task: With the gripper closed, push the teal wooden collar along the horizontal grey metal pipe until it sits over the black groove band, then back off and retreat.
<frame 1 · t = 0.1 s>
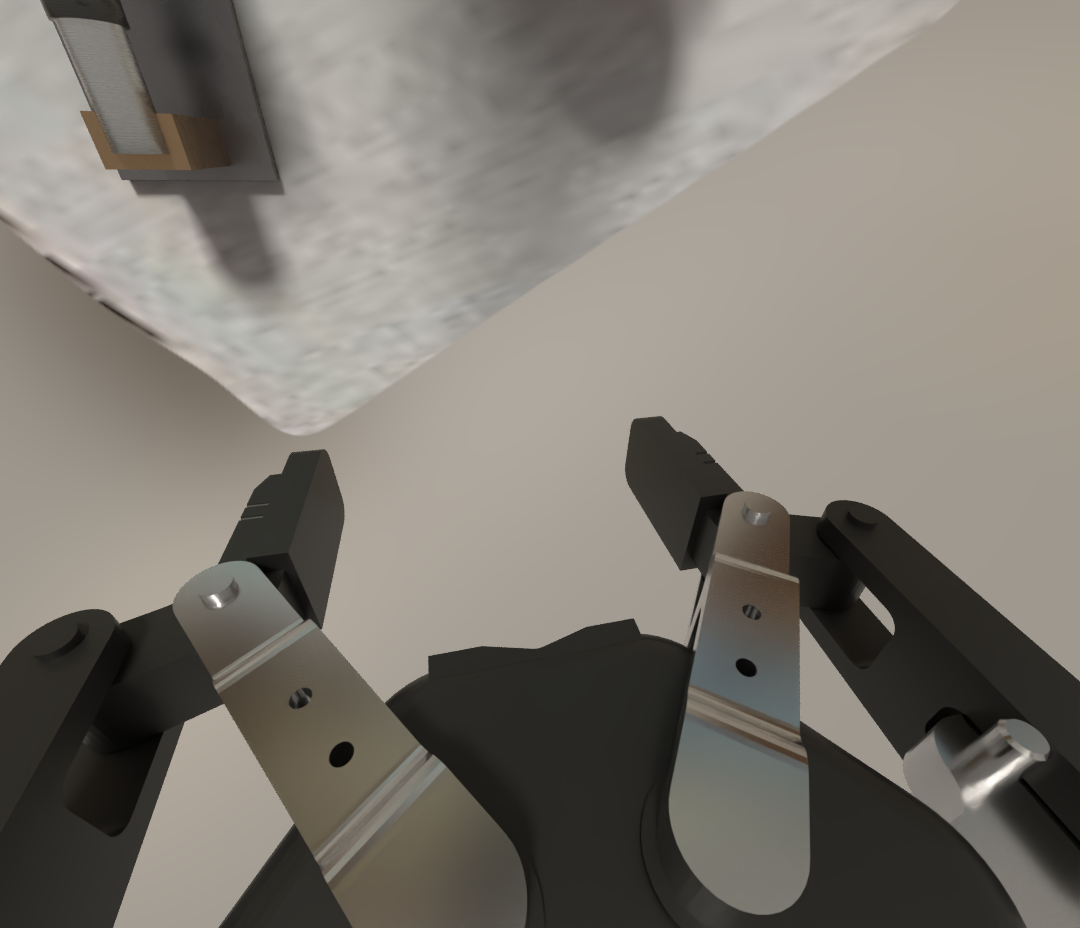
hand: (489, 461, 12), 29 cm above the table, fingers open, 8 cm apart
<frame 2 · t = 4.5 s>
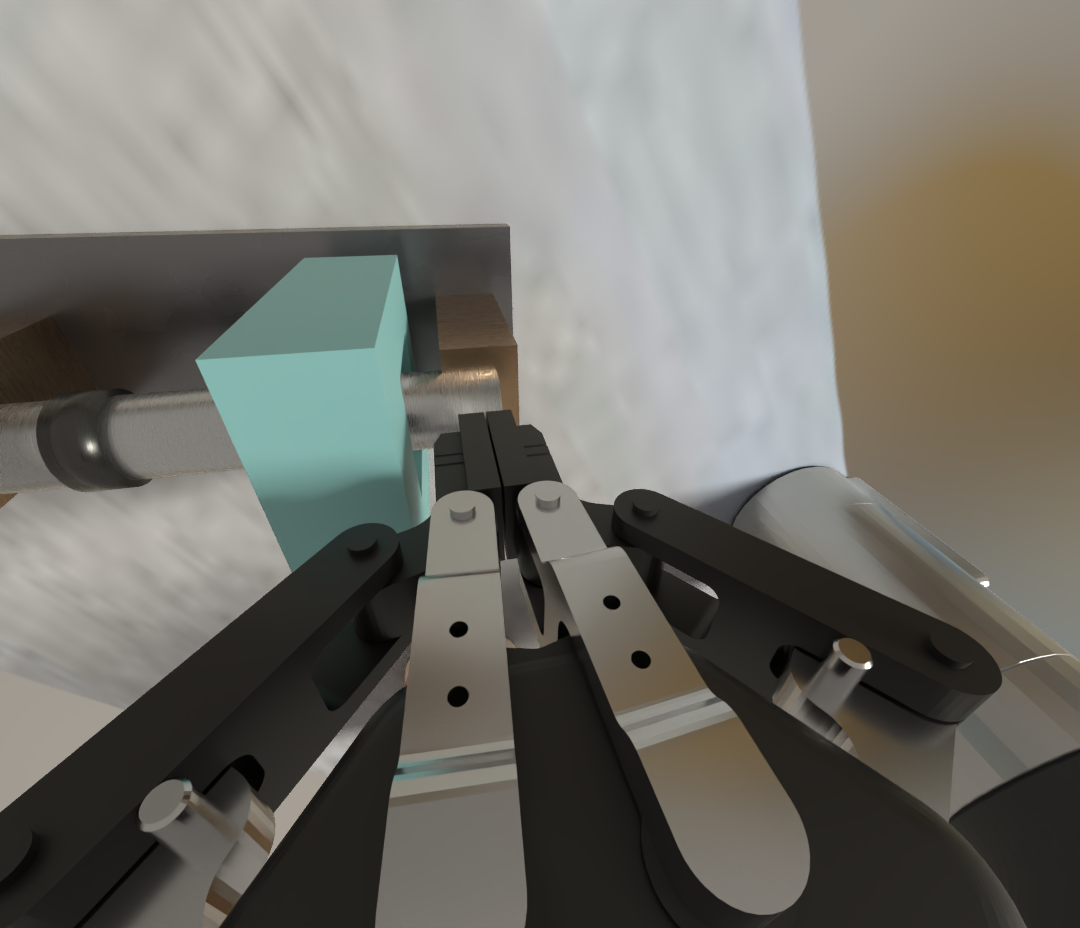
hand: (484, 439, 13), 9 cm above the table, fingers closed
collar: (363, 424, 14), point 8 cm above the table, slide at 0.3 cm, touching gripper
pipe rig: (278, 347, 19), on the table
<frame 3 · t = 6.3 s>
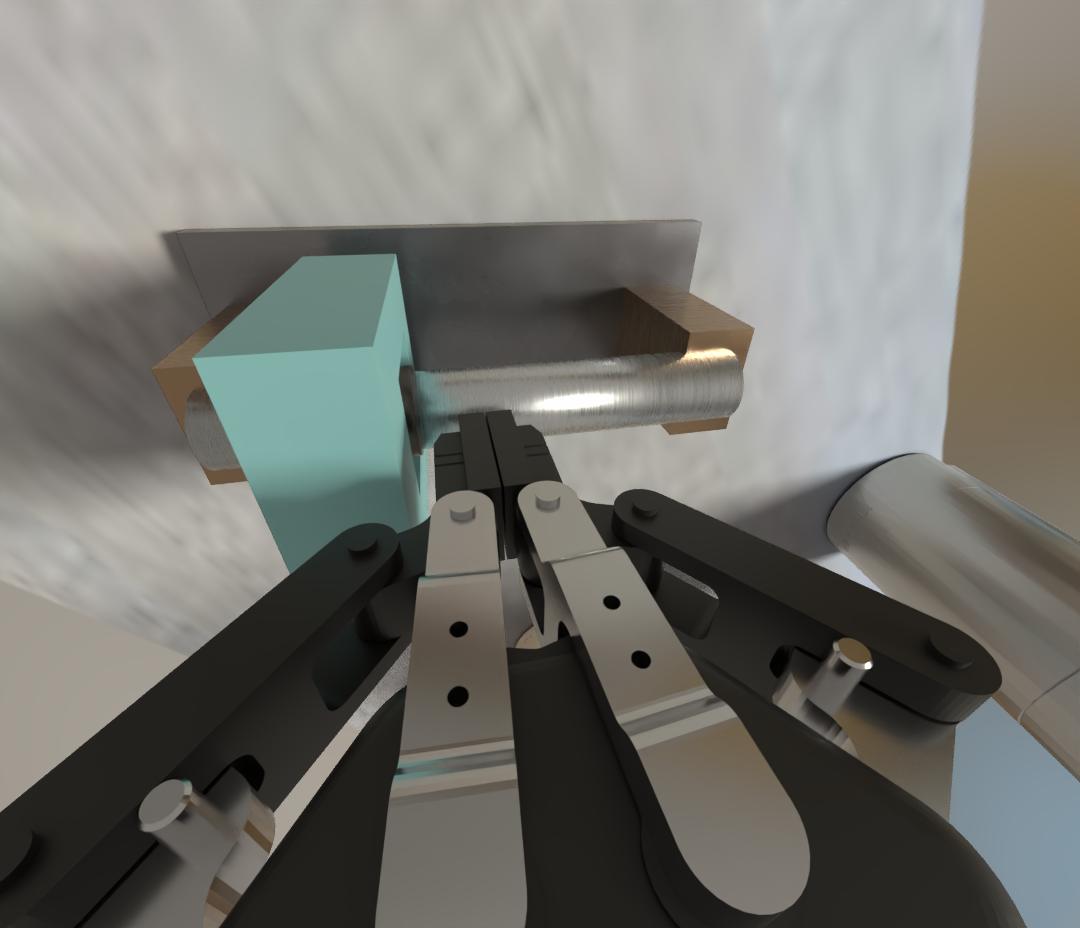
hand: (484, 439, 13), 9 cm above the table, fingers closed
collar: (361, 423, 14), point 7 cm above the table, slide at 8.6 cm, touching gripper
pipe rig: (472, 334, 21), on the table
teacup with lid: (570, 649, 37), on the table
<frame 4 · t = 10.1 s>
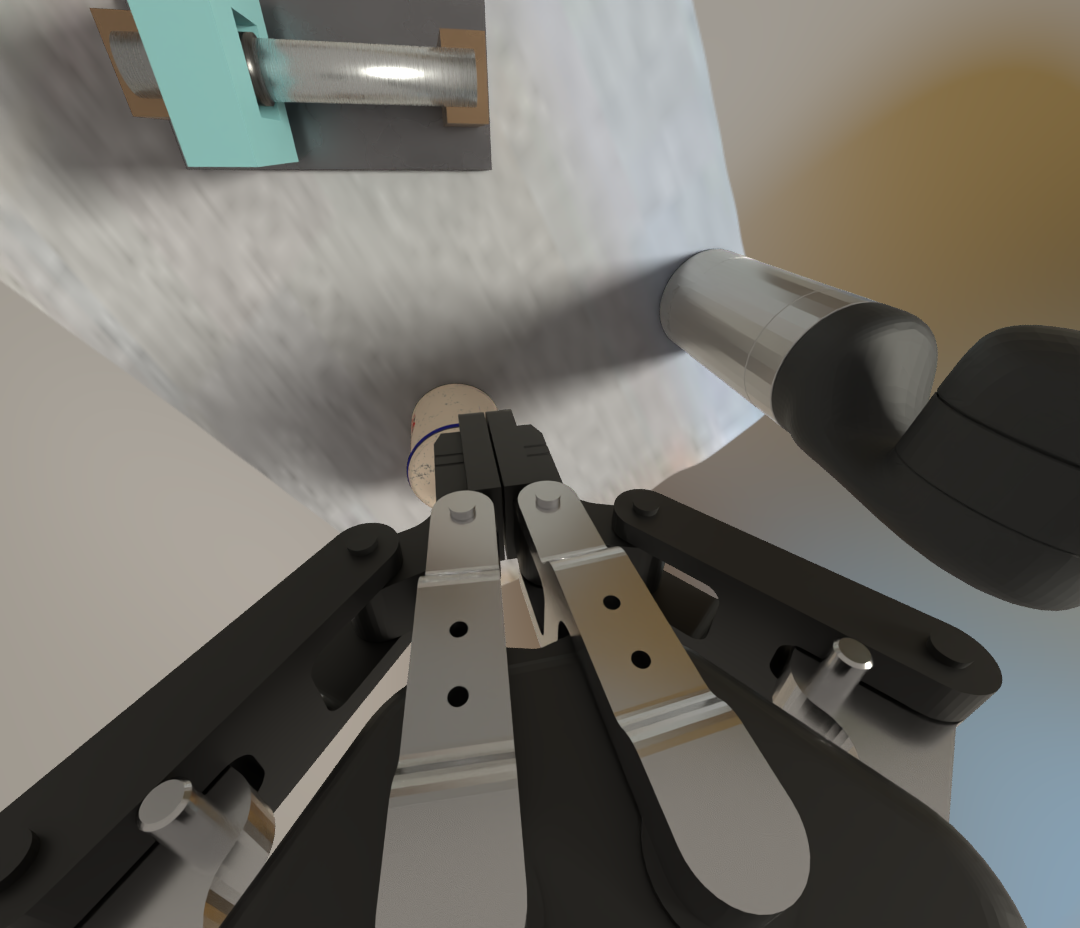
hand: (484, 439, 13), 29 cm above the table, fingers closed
collar: (223, 68, 23), point 7 cm above the table, slide at 8.6 cm
pipe rig: (333, 86, 29), on the table
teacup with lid: (462, 432, 46), on the table
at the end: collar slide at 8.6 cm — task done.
